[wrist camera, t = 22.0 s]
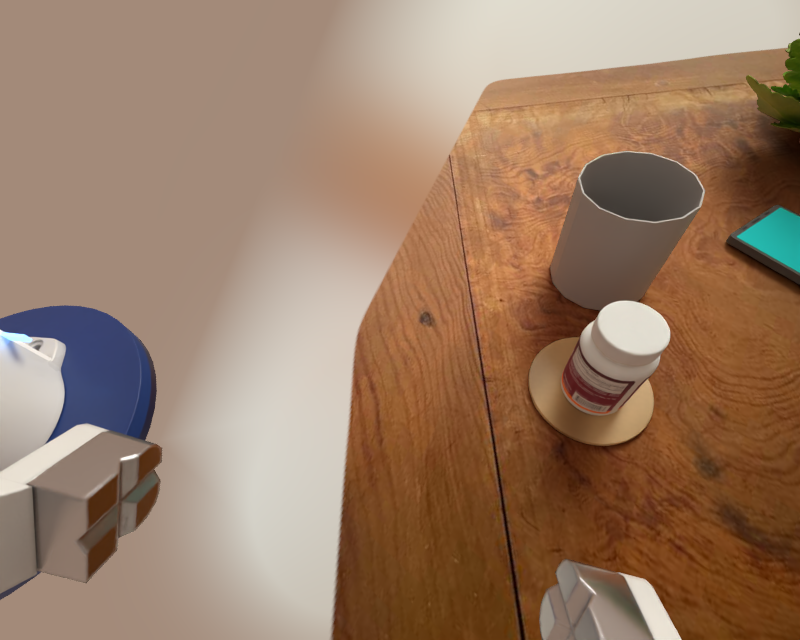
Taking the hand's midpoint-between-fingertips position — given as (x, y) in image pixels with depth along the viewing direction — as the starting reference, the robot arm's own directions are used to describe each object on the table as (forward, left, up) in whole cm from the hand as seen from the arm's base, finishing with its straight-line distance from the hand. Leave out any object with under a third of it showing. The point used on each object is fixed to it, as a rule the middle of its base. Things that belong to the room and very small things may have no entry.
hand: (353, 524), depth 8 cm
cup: (+9, +28, -21) cm, 36 cm away
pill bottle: (+9, +16, -21) cm, 28 cm away
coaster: (+9, +16, -21) cm, 28 cm away
